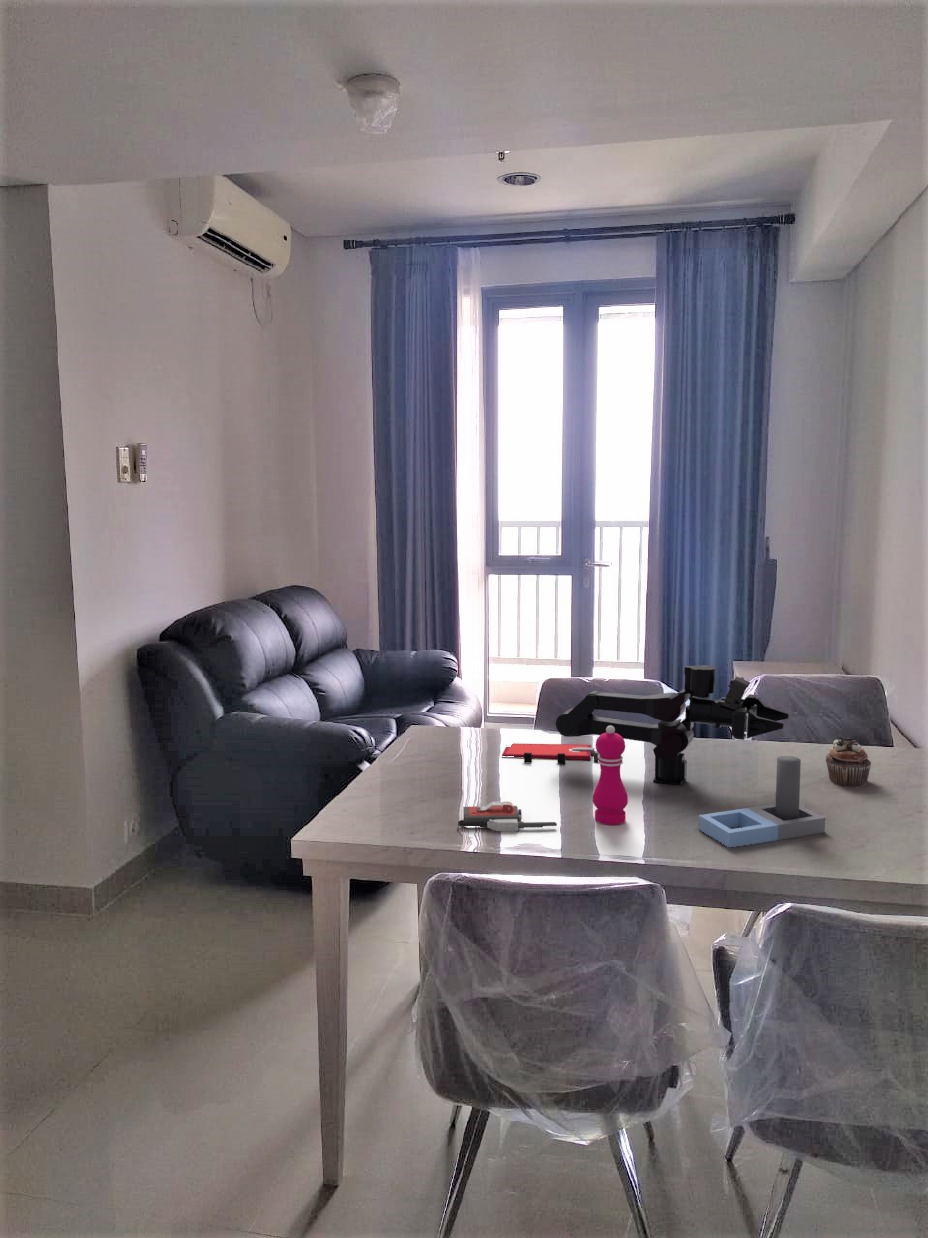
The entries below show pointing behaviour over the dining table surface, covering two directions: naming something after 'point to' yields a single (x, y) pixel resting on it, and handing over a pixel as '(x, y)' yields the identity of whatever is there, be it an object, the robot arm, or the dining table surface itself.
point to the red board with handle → (551, 752)
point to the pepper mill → (610, 780)
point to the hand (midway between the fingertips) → (786, 720)
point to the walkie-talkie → (498, 817)
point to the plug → (787, 788)
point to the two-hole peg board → (758, 825)
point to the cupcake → (848, 763)
